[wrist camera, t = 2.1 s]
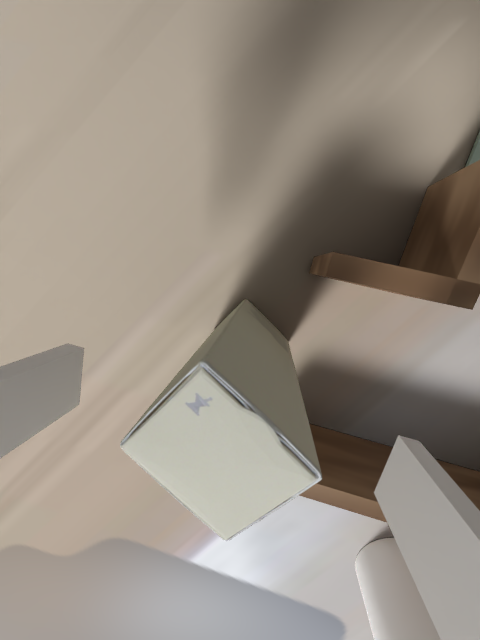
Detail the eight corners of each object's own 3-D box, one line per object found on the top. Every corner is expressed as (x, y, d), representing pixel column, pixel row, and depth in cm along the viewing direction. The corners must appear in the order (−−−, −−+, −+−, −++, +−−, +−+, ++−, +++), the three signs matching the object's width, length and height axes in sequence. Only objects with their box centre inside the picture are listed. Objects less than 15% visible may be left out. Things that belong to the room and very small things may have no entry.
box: (210, 333, 20) (103, 442, 8) (247, 296, 19) (194, 351, 6) (254, 377, 20) (223, 553, 8) (294, 343, 19) (330, 484, 7)
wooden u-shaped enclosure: (338, 170, 16) (374, 115, 10) (674, 234, 15) (941, 211, 9) (265, 424, 21) (262, 483, 15) (512, 494, 19) (615, 592, 13)
